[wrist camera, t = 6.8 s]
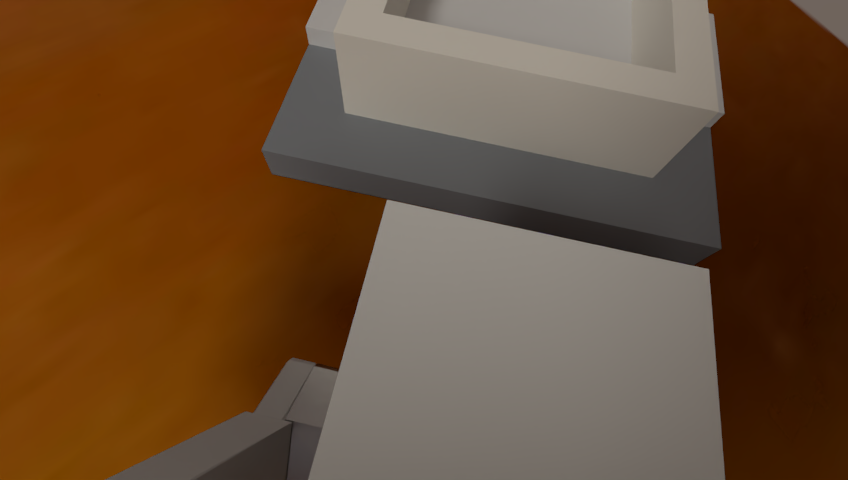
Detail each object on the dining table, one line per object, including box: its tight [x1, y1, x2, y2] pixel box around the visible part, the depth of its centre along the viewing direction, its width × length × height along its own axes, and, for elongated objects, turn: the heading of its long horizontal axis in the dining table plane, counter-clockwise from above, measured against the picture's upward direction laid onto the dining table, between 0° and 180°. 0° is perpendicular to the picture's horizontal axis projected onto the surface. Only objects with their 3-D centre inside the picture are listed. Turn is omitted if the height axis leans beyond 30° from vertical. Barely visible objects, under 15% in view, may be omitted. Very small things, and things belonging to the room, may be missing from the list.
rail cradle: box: [262, 0, 725, 265], centre depth 17 cm, size 16×16×5 cm
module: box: [308, 200, 725, 480], centre depth 9 cm, size 5×6×9 cm
